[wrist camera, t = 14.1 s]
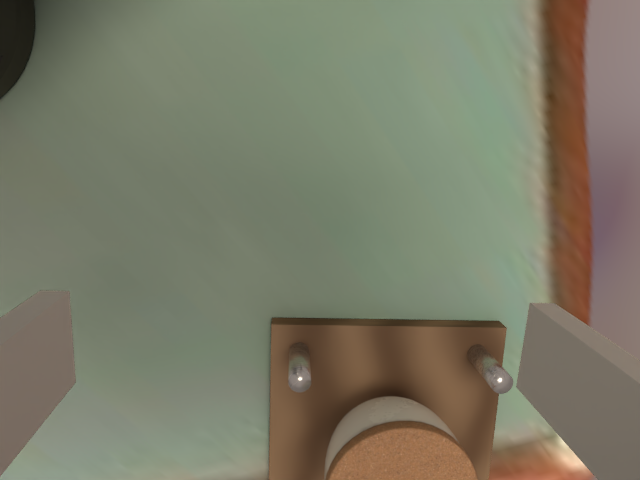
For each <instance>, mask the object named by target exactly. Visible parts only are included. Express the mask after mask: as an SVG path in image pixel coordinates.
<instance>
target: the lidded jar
mask: <svg viewBox="0 0 640 480" xmlns="http://www.w3.org/2000/svg"><path fill="white" fill-rule="evenodd" d="M324 480H478V478H477V475H476V471H475V468H474V466H473V464H472V462H471V460H470V458H469V456H468V454H467V453H466V452H465V450H464V449H463V447H462V446H461V445H460V443H459V442H458V440H457V438H456V437H455V435H454V434H453V433H452V431H451V430H450V429H449V427H448V426H447V425H446V424H445V423H444V422H443V421H442V420H441V419H440V418H439V417H438V416H437V415H436V414H435V413H434V412H433V411H431V410H430V409H429V408H427V407H426V406H424V405H422V404H420V403H418V402H416V401H413V400H411V399H407V398H404V397H397V396H384V397H378V398H374V399H370V400H367V401H365V402H363V403H361V404H359V405H358V406H356V407H355V408H353V409H352V410H351V411H349V412H348V413H347V414H346V415H345V416H344V417H343V418H342V420H341V421H340V422H339V424H338V425H337V427H336V429H335V430H334V432H333V434H332V436H331V439H330V441H329V445H328V448H327V453H326V458H325V467H324Z"/></svg>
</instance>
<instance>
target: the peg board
mask: <svg viewBox="0 0 640 480" xmlns="http://www.w3.org/2000/svg"><path fill="white" fill-rule="evenodd" d="M506 329H507V328H506V327H505V326H504V325H503V324H502V323H501V322H500V321H462V320H393V319H325V318H272V323H271V380H270V445H269V480H324V467H325V458H326V453H327V448H328V445H329V441H330V439H331V436H332V434H333V432H334V430H335V429H336V427H337V425H338V424H339V422H340V421H341V420H342V418H343V417H344V416H345V415H346V414H347V413H348V412H349V411H351V410H352V409H353V408H355V407H356V406H358V405H359V404H361V403H363V402H365V401H367V400H370V399H374V398H378V397H384V396H397V397H404V398H407V399H411V400H413V401H416V402H418V403H420V404H422V405H424V406H426V407H427V408H429V409H430V410H431V411H433V412H434V413H435V414H436V415H437V416H438V417H439V418H440V419H441V420H442V421H443V422H444V423H445V424H446V425H447V426H448V427H449V429H450V430H451V431H452V433H453V434H454V435H455V437H456V438H457V440H458V442H459V443H460V445H461V446H462V447H463V449H464V450H465V452H466V453H467V454H468V456H469V458H470V460H471V462H472V464H473V466H474V468H475V471H476V475H477V478H478V480H489V472H490V463H491V455H492V446H493V438H494V430H495V421H496V413H497V404H498V396H499V393H496V392H494V391H493V389H492V388H491V387H490V386H489V384H488V383H487V382H486V380H485V379H484V378H483V377H482V375H481V374H480V373H479V372H478V370H477V369H476V368H475V367H474V365H473V364H472V363H471V361H470V360H469V359H468V357H467V351H468V349H469V348H470V347H471V346H473V345H475V344H480V345H482V346H484V347H485V348H486V350H487V351H488V352H489V353H490V354H491V355H492V356H493V357H494V358H495V360H496V361H497V362H498V363H499V364H500V365H501V366H502V362H503V354H504V346H505V337H506ZM297 342H302V343H304V344H306V345H307V346H308V348H309V356H310V371H311V385H310V387H309V389H308V390H306V391H304V392H295V391H293V390H292V389H291V388H290V387H289V384H288V377H289V349H290V347H291V346H292V345H293V344H294V343H297Z"/></svg>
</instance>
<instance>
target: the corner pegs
mask: <svg viewBox="0 0 640 480" xmlns="http://www.w3.org/2000/svg"><path fill="white" fill-rule="evenodd" d="M467 357H468V359H469V360H470V361H471V363H472V364H473V365H474V367H475V368H476V369H477V370H478V372H479V373H480V374H481V375H482V377H483V378H484V379H485V380H486V382H487V383H488V384H489V386H490V387H491V388H492V389H493V391H494V392H496V393H499V394H503V393H506V392H508V391H509V390H510V389H511V388H512V385H513V379H512V377H511V376H510V375H509V374H508V373H507V372H506V371H505V369H504V368H503V367H502V366H501V365H500V364H499V363H498V362H497V361H496V360H495V358H494V357H493V356H492V355H491V354H490V353H489V352H488V351H487V350H486V348H485V347H484V346H482V345H480V344H475V345H473V346H471V347H470V348H469V349H468V351H467ZM288 384H289V387H290V388H291V389H292V390H293V391H295V392H304V391H306V390H308V389H309V387H310V385H311V371H310V356H309V348H308V346H307V345H306V344H304V343H302V342H297V343H294V344H293V345H292V346H291V347H290V349H289V377H288Z"/></svg>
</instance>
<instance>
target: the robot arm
mask: <svg viewBox="0 0 640 480" xmlns="http://www.w3.org/2000/svg"><path fill="white" fill-rule="evenodd" d="M34 29H35V14H34V4H33V0H0V98H1V97H2V96H3V95H4V94H5V93H6V92H7V91H8V90H9V89H10V88H11V87H12V86H13V84H14V83H15V82H16V80H17V79H18V77H19V76H20V74H21V73H22V71H23V69H24V67H25V65H26V63H27V60H28V57H29V55H30V51H31V48H32V43H33V38H34ZM75 383H76V379H75V364H74V350H73V335H72V321H71V306H70V292H69V291H43V290H40V291H39V292H37V293H36V294H34V295H33V296H31V297H30V298H29V299H27V300H26V301H24V302H23V303H21V304H20V305H18V306H17V307H16V308H14V309H13V310H11V311H10V312H8V313H7V314H5V315H4V316H2V317H1V318H0V476H1V475H2V474H3V472H4V471H5V470H6V469H7V467H8V466H9V465H10V464H11V462H12V461H13V460H14V459H15V457H16V456H17V455H18V454H19V452H20V451H21V450H22V449H23V447H24V446H25V445H26V444H27V442H28V441H29V440H30V439H31V437H32V436H33V435H34V434H35V432H36V431H37V430H38V429H39V427H40V426H41V425H42V424H43V422H44V421H45V420H46V419H47V417H48V416H49V415H50V414H51V412H52V411H53V410H54V409H55V407H56V406H57V405H58V404H59V402H60V401H61V400H62V399H63V397H64V396H65V395H66V394H67V392H68V391H69V390H70V389H71V388H72V386H73V385H74V384H75ZM516 387H517V388H518V389H519V391H520V392H521V393H522V394H523V395H524V396H525V397H526V398H527V400H528V401H529V402H530V403H531V404H532V405H533V406H534V408H535V409H536V410H537V411H538V412H539V413H540V414H541V416H542V417H543V418H544V419H545V420H546V421H547V422H548V424H549V425H550V426H551V427H552V428H553V429H554V430H555V431H556V433H557V434H558V435H559V436H560V437H561V438H562V439H563V441H564V442H565V443H566V444H567V445H568V446H569V447H570V449H571V450H572V451H573V452H574V453H575V454H576V455H577V457H578V458H579V459H580V460H581V461H582V462H583V463H584V464H585V466H586V467H587V468H588V469H589V470H590V471H591V472H592V474H593V475H594V476H595V477H596V478H597V479H598V480H640V360H638V359H637V358H635V357H634V356H633V355H631V354H630V353H628V352H627V351H625V350H624V349H622V348H620V347H619V346H618V345H616V344H615V343H613V342H612V341H610V340H609V339H607V338H606V337H604V336H603V335H601V334H599V333H598V332H596V331H595V330H594V329H592V328H591V327H589V326H588V325H586V324H585V323H583V322H582V321H580V320H579V319H577V318H576V317H574V316H573V315H571V314H570V313H568V312H567V311H565V310H564V309H562V308H561V307H559V306H558V305H556V304H555V303H530V305H529V311H528V317H527V324H526V330H525V336H524V342H523V348H522V355H521V361H520V367H519V373H518V379H517V386H516Z"/></svg>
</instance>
